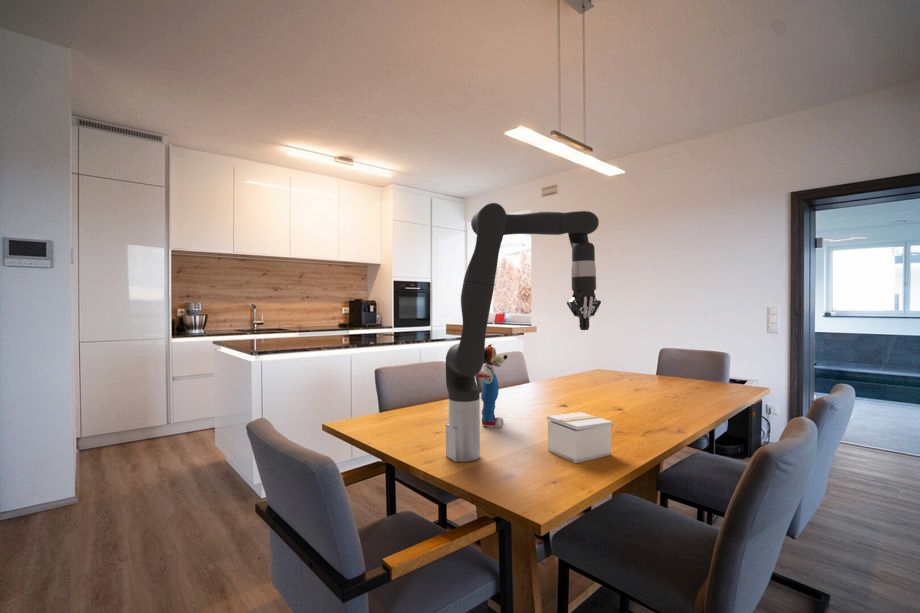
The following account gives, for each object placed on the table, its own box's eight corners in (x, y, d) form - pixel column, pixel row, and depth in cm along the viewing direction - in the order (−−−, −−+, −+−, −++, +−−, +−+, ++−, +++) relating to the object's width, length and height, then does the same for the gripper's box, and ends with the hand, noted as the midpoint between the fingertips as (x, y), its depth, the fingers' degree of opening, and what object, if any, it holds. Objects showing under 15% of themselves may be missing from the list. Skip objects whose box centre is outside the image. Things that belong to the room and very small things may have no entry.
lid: (577, 430, 121) (577, 425, 121) (546, 419, 132) (547, 415, 132) (612, 425, 128) (612, 420, 128) (580, 415, 139) (580, 411, 139)
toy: (502, 439, 143) (502, 349, 143) (472, 437, 145) (472, 348, 145) (511, 413, 176) (511, 340, 176) (486, 412, 178) (486, 340, 178)
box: (575, 463, 121) (575, 431, 121) (548, 450, 132) (548, 421, 132) (611, 454, 128) (611, 424, 128) (581, 443, 139) (581, 415, 139)
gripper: (576, 274, 131) (577, 331, 131) (607, 275, 137) (608, 329, 137) (559, 276, 138) (560, 330, 138) (590, 276, 144) (591, 328, 144)
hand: (584, 329), depth 138 cm, fingers closed
